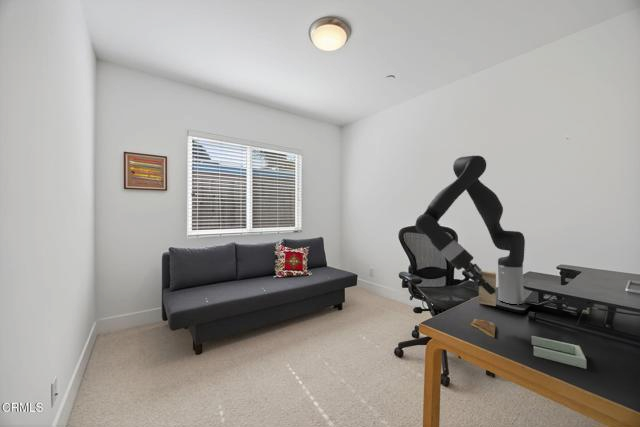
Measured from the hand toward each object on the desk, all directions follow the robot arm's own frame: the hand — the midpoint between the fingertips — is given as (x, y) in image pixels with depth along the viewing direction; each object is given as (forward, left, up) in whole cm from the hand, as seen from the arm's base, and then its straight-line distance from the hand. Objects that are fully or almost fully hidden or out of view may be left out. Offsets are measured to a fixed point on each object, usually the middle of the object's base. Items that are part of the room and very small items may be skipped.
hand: (493, 290), depth 91 cm
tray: (+8, +15, -15) cm, 23 cm away
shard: (0, -2, -15) cm, 15 cm away
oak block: (0, -2, -5) cm, 5 cm away
